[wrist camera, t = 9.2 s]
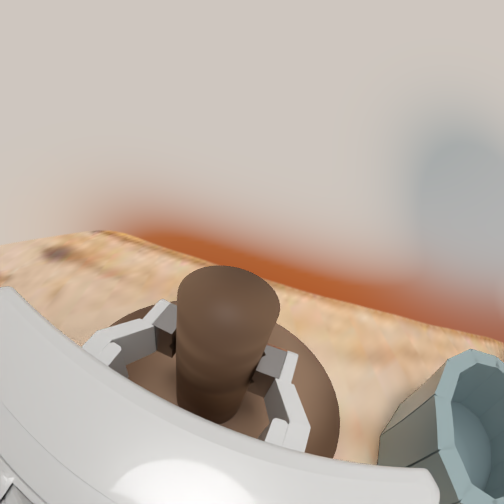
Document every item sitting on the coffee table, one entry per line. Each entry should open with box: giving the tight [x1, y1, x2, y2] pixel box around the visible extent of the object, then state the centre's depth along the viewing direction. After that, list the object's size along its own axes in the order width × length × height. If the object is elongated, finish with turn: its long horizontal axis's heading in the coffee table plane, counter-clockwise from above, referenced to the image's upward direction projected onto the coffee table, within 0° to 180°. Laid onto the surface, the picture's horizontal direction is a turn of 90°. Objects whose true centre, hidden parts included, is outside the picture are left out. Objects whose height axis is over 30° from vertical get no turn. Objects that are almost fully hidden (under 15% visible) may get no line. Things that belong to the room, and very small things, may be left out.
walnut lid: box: [110, 266, 340, 459], centre depth 12 cm, size 16×16×9 cm
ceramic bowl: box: [377, 349, 504, 504], centre depth 10 cm, size 14×14×6 cm
